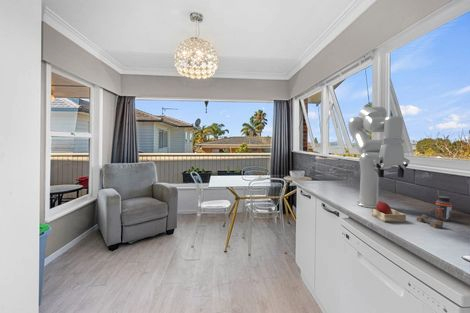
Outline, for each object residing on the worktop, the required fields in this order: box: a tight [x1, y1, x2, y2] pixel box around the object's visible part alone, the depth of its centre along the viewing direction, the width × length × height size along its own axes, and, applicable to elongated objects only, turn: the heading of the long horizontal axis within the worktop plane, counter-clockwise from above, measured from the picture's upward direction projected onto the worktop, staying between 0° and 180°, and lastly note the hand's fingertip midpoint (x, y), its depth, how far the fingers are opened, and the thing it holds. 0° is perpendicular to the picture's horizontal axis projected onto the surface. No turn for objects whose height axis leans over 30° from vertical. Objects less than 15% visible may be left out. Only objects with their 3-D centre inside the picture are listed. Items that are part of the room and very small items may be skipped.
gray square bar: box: [417, 215, 442, 227], centre depth 113 cm, size 12×1×1 cm, turn 2°
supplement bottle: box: [434, 195, 453, 222], centre depth 119 cm, size 6×6×11 cm
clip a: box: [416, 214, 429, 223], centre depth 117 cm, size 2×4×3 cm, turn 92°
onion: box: [376, 200, 391, 214], centre depth 121 cm, size 6×6×8 cm
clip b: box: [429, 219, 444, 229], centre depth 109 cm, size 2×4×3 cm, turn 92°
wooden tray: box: [371, 208, 407, 223], centre depth 120 cm, size 10×10×4 cm
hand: (390, 177), depth 119 cm, fingers open, 9 cm apart
